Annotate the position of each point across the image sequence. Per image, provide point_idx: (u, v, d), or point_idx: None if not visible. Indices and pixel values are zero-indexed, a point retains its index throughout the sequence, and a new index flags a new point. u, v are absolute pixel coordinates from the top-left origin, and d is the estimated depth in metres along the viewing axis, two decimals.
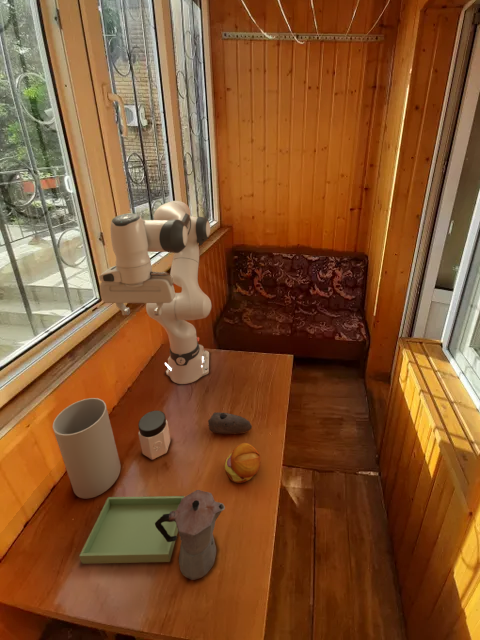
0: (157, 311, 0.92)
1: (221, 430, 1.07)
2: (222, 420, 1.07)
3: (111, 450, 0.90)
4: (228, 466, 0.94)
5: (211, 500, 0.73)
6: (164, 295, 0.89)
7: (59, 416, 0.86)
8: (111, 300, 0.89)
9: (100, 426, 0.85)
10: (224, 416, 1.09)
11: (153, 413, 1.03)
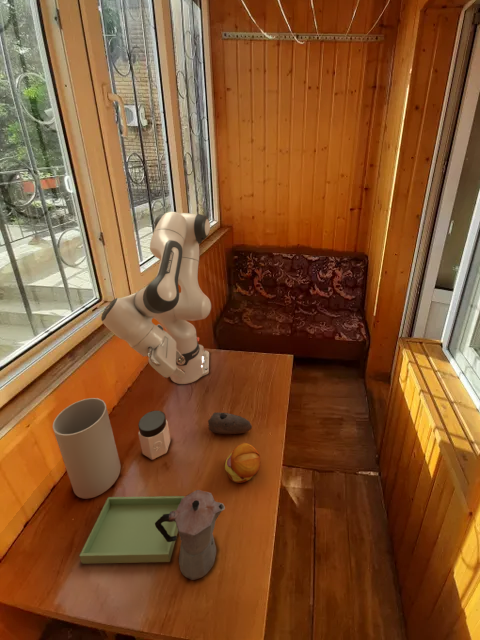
0: None
1: (221, 430, 1.07)
2: (222, 420, 1.07)
3: (111, 450, 0.90)
4: (228, 466, 0.94)
5: (211, 500, 0.73)
6: None
7: (59, 416, 0.86)
8: None
9: (100, 426, 0.85)
10: (224, 416, 1.09)
11: (153, 413, 1.03)
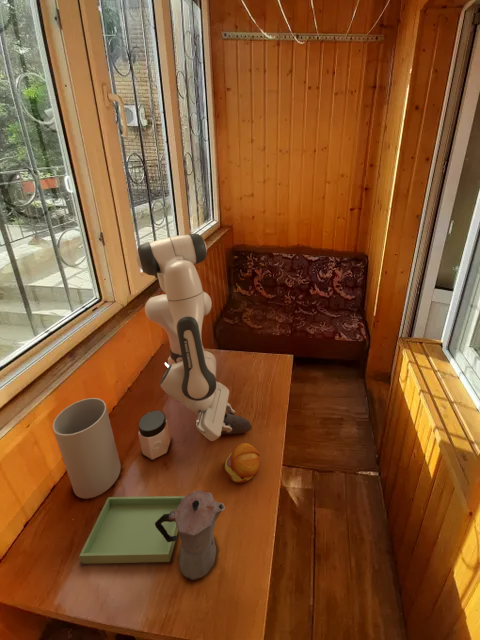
0: None
1: None
2: None
3: (111, 450, 0.90)
4: (228, 466, 0.94)
5: (211, 500, 0.73)
6: None
7: (59, 416, 0.86)
8: None
9: (100, 426, 0.85)
10: (224, 416, 1.09)
11: (153, 413, 1.03)
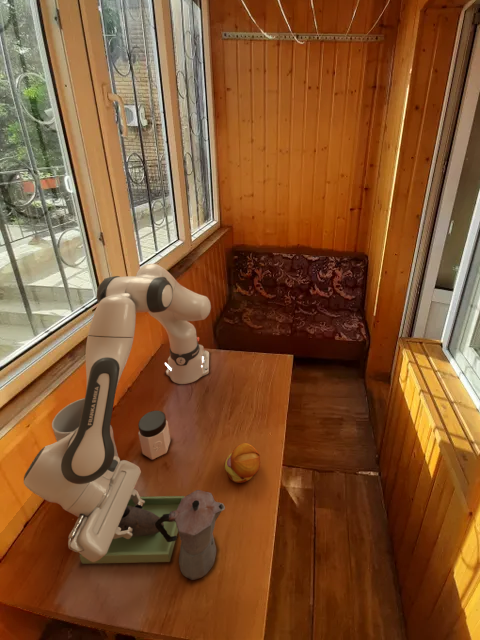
0: None
1: None
2: (121, 520, 0.78)
3: None
4: (228, 466, 0.94)
5: (211, 500, 0.73)
6: None
7: (58, 415, 0.86)
8: None
9: None
10: (126, 512, 0.80)
11: (153, 413, 1.03)
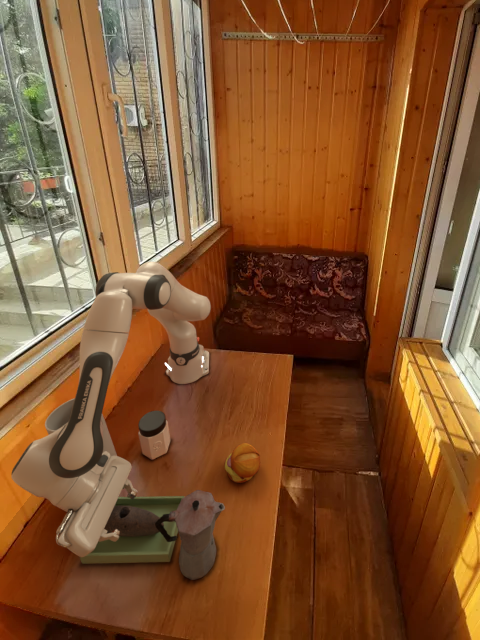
0: None
1: (120, 534, 0.78)
2: (121, 520, 0.78)
3: (106, 446, 0.90)
4: (228, 466, 0.94)
5: (211, 500, 0.73)
6: None
7: (52, 414, 0.87)
8: None
9: None
10: (126, 512, 0.80)
11: (153, 413, 1.03)
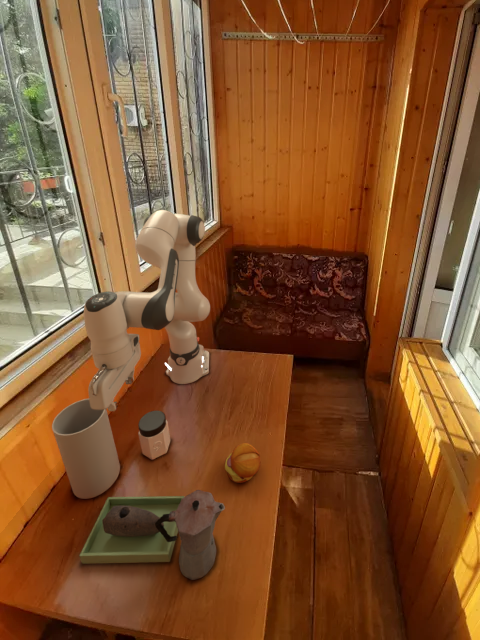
0: None
1: (120, 534, 0.78)
2: (121, 520, 0.78)
3: (110, 451, 0.90)
4: (228, 466, 0.94)
5: (211, 500, 0.73)
6: None
7: (59, 416, 0.86)
8: None
9: (99, 427, 0.85)
10: (126, 512, 0.80)
11: (153, 413, 1.03)
